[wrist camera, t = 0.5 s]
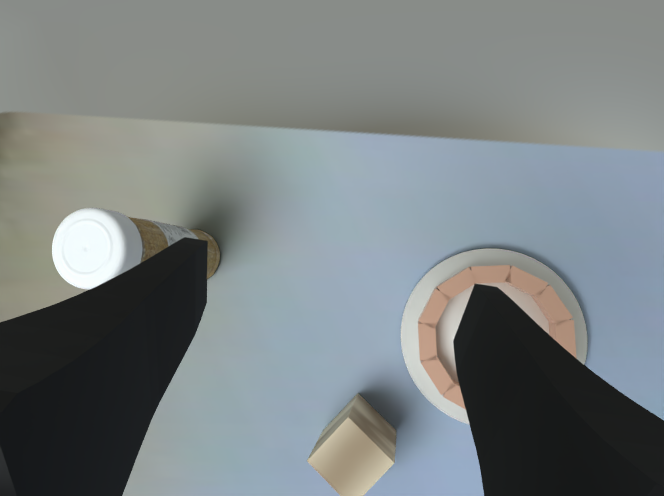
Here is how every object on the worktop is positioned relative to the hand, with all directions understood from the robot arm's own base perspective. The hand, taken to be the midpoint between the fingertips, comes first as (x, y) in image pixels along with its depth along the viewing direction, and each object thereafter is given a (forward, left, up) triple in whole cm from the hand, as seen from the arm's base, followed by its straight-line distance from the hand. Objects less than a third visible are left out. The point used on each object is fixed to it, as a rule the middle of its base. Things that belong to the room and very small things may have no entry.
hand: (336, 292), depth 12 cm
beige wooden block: (-11, +2, -24) cm, 26 cm away
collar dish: (-4, -8, -24) cm, 25 cm away
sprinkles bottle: (+3, +15, -24) cm, 28 cm away
